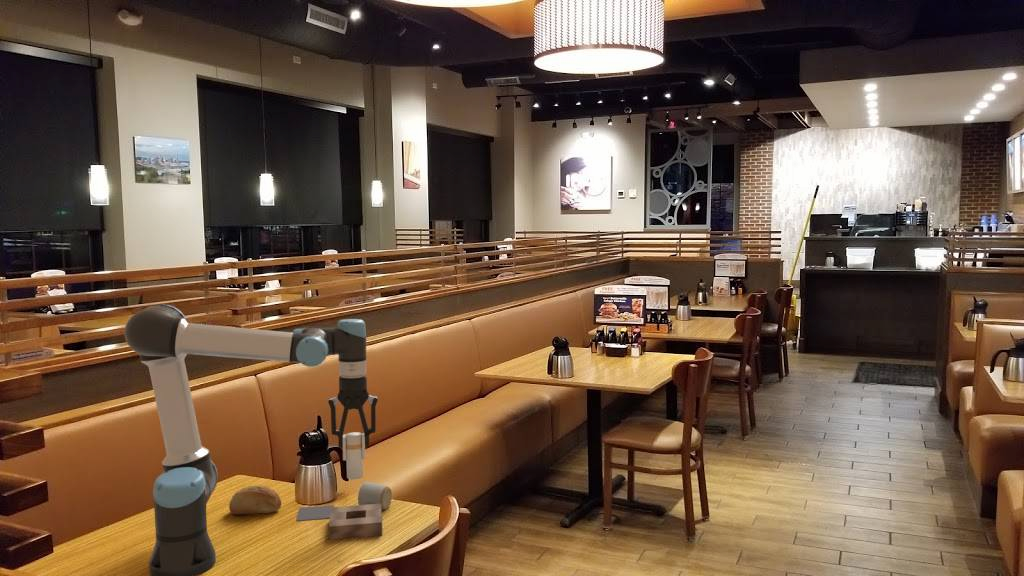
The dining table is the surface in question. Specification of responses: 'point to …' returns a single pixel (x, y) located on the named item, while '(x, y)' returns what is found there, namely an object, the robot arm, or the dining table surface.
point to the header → (355, 522)
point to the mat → (314, 513)
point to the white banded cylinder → (354, 455)
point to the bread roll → (254, 500)
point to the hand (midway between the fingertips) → (354, 458)
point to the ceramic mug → (375, 495)
